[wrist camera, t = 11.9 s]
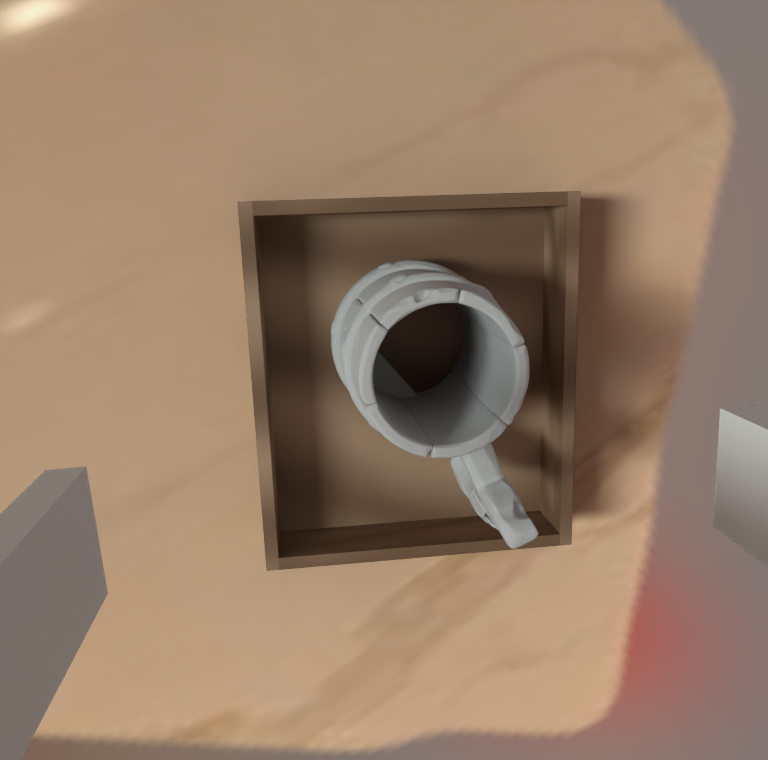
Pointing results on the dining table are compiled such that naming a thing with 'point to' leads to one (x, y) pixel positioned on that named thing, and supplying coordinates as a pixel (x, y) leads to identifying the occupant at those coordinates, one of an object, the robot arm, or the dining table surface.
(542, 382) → the wooden tray
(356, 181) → the dining table surface
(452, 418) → the mug
